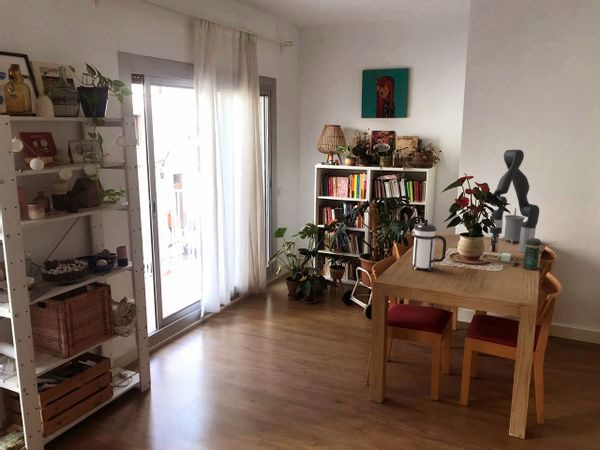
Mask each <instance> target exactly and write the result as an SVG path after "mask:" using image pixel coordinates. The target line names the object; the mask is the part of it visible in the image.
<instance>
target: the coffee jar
mask: <svg viewBox="0 0 600 450" xmlns="http://www.w3.org/2000/svg"><path fill="white" fill-rule="evenodd" d="M541 244H542V241H541V240H540V238H536V237H535V238H531V239H528V240H526V246H525V252H524V255H523V261H522V262H523V263H522V268H523V269H526V270H529V269H530V270H534V271H535V270H536V269H538V267H539V258H540V252H541Z"/></svg>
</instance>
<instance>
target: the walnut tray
mask: <svg viewBox="0 0 600 450" xmlns="http://www.w3.org/2000/svg"><path fill="white" fill-rule="evenodd" d="M487 257H488V258H487ZM479 259H480V260H483V261H488V262H490V263H489V264H493V263H494V264H495V265H499V264H502V265H501V266H508V267H511V268H512V267H514V266H515V264H516V262H517V258H514V257H511V261H510V262H509V261H502V260H501V255H494V254H488V253H483V254H482V255H481V256H480V257H479ZM494 264H493V265H494Z"/></svg>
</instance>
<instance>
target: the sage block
mask: <svg viewBox="0 0 600 450" xmlns="http://www.w3.org/2000/svg"><path fill="white" fill-rule="evenodd" d="M500 256H501V260H502V261H509V262H510V261H511V258H512V254H511V253H505V252H502V253H501V255H500Z"/></svg>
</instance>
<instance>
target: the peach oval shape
mask: <svg viewBox="0 0 600 450" xmlns="http://www.w3.org/2000/svg"><path fill="white" fill-rule="evenodd" d="M493 244H494V243H493ZM489 250H490V251H489V252H491V253H493V252H492V251H491V250H492V246H491V245H490V249H489ZM498 252H499V241H498V242H497V243H496V247H495V252H494V253H498Z"/></svg>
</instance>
